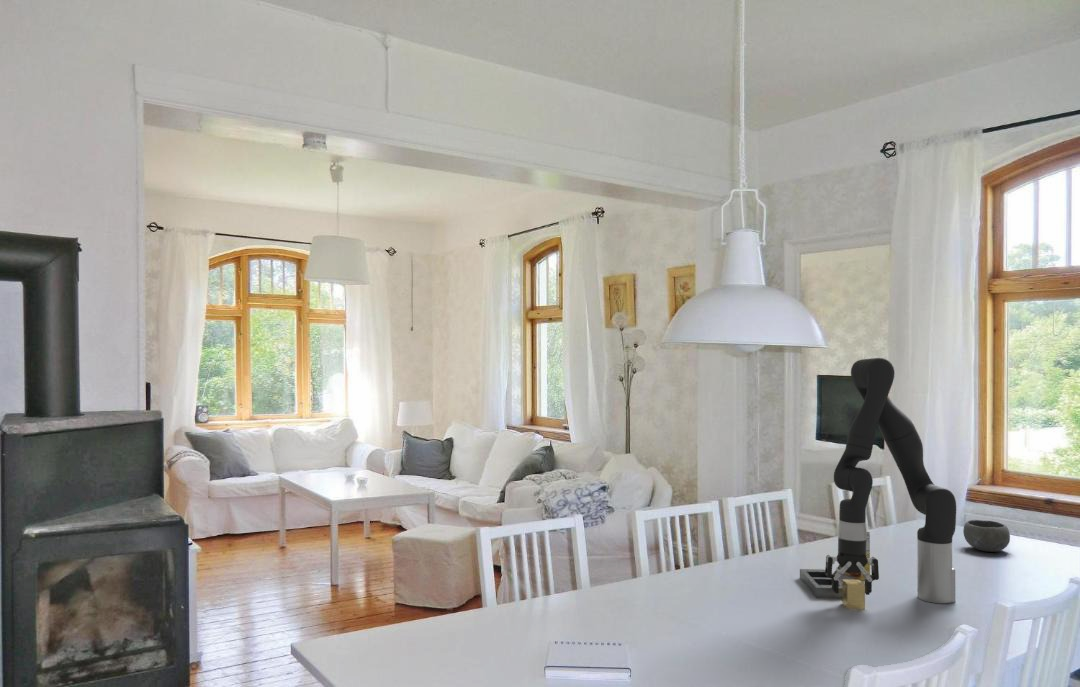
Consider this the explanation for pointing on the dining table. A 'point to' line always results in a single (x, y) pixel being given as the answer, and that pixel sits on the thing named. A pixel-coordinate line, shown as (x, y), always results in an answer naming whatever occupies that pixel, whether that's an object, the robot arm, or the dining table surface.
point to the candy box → (867, 566)
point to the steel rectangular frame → (819, 583)
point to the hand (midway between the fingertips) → (851, 593)
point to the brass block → (853, 594)
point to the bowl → (986, 535)
